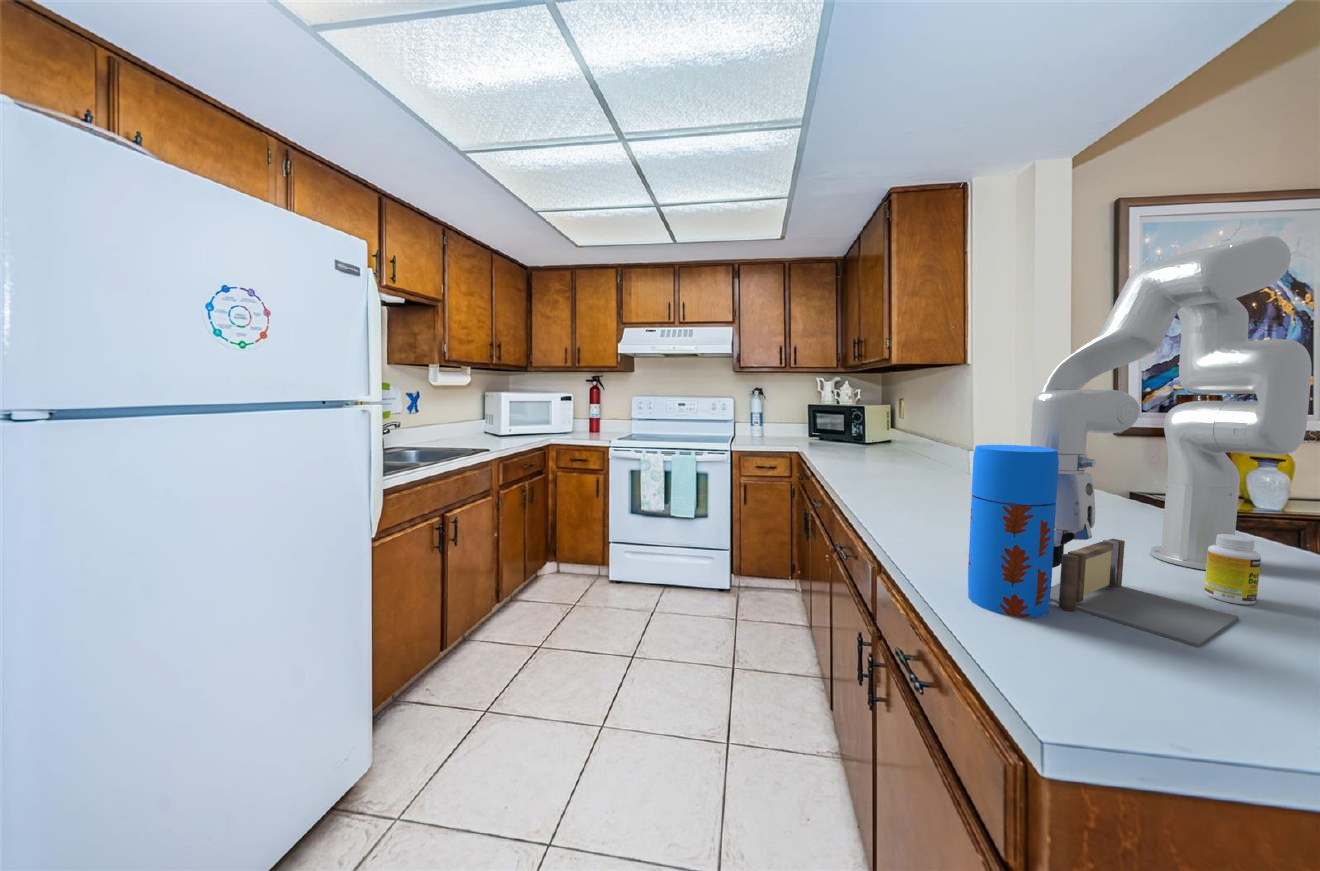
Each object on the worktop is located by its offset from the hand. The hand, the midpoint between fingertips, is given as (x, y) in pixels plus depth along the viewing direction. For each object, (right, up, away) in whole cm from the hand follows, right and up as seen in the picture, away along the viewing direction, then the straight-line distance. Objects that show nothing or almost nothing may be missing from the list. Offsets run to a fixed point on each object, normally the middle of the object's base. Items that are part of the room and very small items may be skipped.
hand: (1050, 565), depth 87 cm
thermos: (-14, -4, -8) cm, 16 cm away
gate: (+2, -3, -6) cm, 7 cm away
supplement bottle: (+23, -4, -7) cm, 25 cm away
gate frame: (+5, -4, -10) cm, 12 cm away
